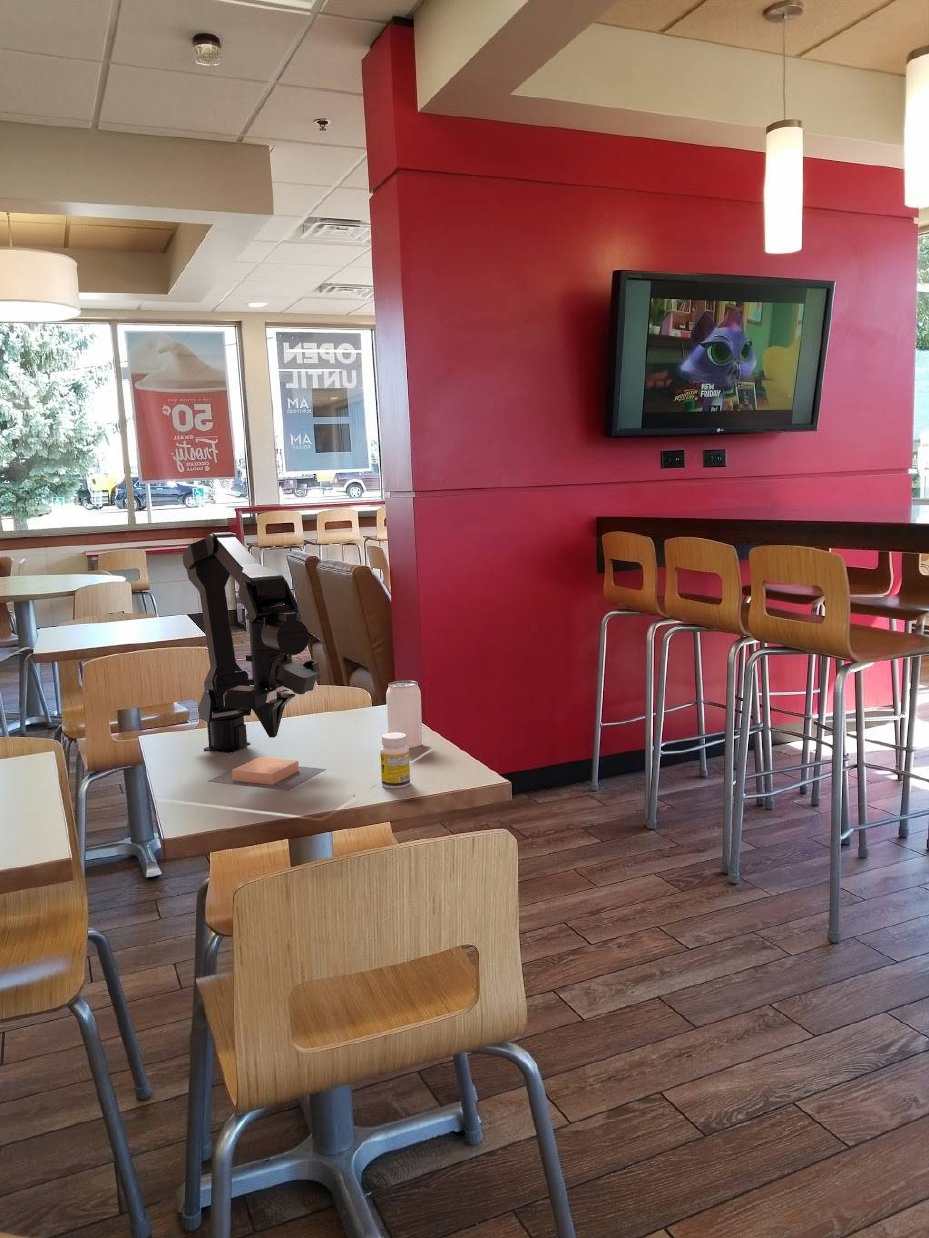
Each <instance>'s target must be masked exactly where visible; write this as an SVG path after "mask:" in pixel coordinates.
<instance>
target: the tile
mask: <svg viewBox="0 0 929 1238" xmlns="http://www.w3.org/2000/svg"><path fill="white" fill-rule="evenodd" d="M247 762H248V763H247ZM247 762H245V763H246V764H245V763H243V764H240V765H238V766H239V767H238V766H237V768H236V767H234V768H235V769H234V768H232V769H233V770H232V769H231V770H232V780H234V781H243V782H252V783H261V784H270V785H273V784H275V783H277V782H279V781H281V780H283V779H285V778H286V777H288V776H290V775H292V774H294V773H296V772H298V771H299V766H300V765H299V760H293V759H286V758H285V759H284V758H274V757H273V758H272V757H264V756H258V757H257V758H254V759H252V760H250V762H249V761H247Z"/></svg>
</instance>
